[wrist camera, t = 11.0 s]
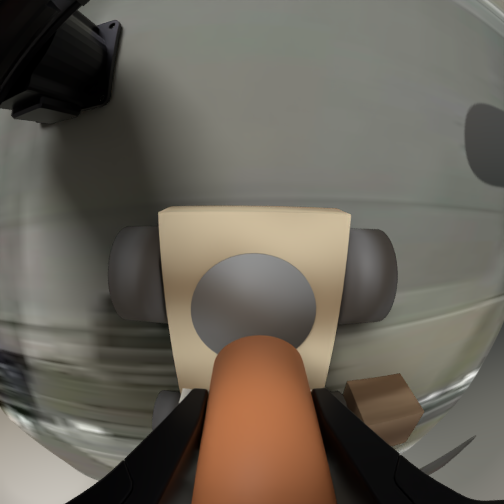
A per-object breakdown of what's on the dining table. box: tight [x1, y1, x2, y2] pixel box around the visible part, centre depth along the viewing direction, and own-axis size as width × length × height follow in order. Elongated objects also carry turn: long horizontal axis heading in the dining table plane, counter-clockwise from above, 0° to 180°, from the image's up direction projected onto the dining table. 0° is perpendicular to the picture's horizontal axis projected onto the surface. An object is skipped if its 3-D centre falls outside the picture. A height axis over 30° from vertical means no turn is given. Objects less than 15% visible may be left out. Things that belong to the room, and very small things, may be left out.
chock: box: [343, 373, 424, 446], centre depth 17 cm, size 4×5×5 cm
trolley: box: [108, 206, 398, 430], centre depth 16 cm, size 19×13×5 cm
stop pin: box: [191, 335, 337, 504], centre depth 6 cm, size 3×3×6 cm
